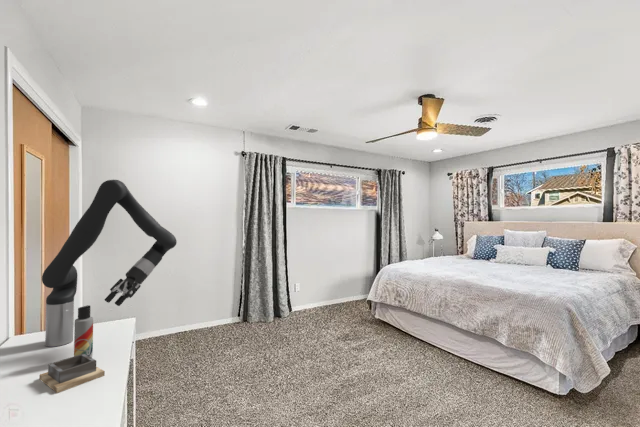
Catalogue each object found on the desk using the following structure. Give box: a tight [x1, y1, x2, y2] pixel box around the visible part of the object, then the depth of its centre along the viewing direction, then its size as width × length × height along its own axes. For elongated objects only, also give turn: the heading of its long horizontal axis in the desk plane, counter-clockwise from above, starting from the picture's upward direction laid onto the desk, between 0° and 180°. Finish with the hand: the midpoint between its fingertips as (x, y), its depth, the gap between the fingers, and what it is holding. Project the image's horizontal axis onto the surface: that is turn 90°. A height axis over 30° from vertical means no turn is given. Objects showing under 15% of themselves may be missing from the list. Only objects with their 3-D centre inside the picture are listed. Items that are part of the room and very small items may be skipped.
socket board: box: [38, 354, 105, 394], centre depth 107 cm, size 15×13×5 cm
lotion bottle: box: [73, 305, 94, 358], centre depth 121 cm, size 6×6×20 cm
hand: (111, 303), depth 129 cm, fingers open, 8 cm apart
